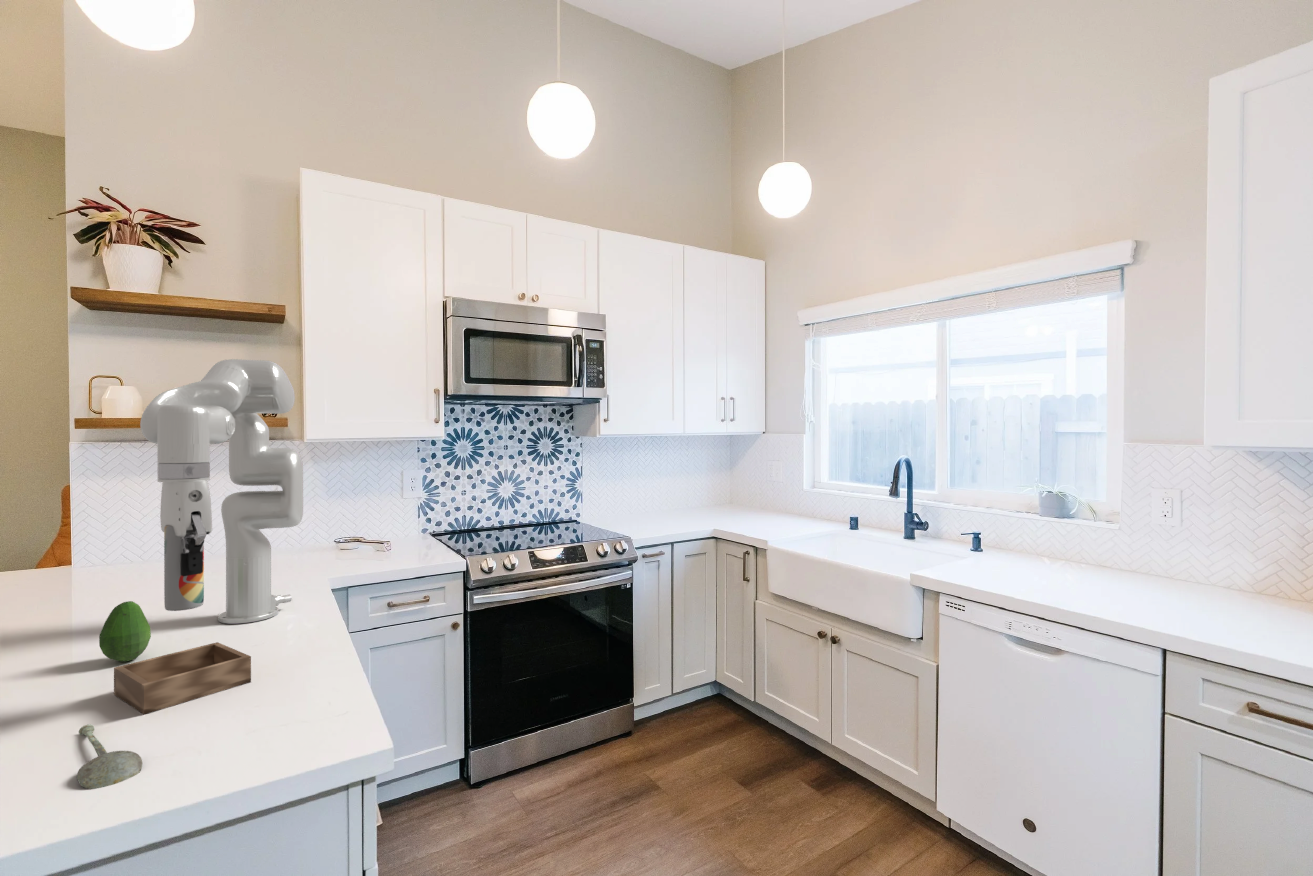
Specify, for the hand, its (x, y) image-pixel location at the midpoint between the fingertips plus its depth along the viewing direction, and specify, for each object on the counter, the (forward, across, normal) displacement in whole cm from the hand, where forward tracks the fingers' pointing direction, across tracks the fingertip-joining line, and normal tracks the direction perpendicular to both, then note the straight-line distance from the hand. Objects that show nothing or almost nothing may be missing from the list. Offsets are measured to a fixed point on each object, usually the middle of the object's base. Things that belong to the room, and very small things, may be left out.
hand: (184, 571), depth 112 cm
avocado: (+22, +26, +1) cm, 34 cm away
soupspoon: (+22, -18, +16) cm, 33 cm away
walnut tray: (+21, 0, 0) cm, 21 cm away
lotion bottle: (+7, 0, 0) cm, 7 cm away
